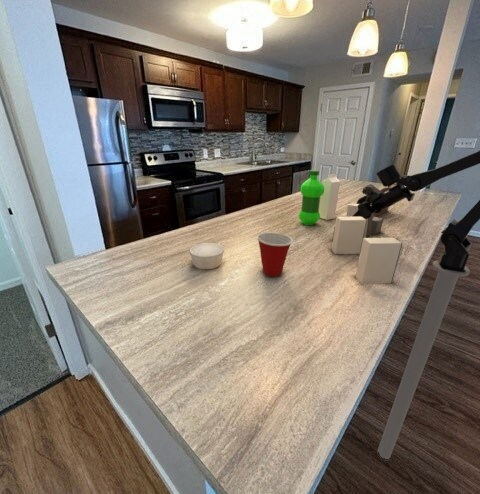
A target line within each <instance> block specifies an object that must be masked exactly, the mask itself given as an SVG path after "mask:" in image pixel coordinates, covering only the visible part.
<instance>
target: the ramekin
mask: <svg viewBox="0 0 480 494" xmlns="http://www.w3.org/2000/svg"><path fill="white" fill-rule="evenodd" d="M224 253H225V250H224V246H223V245H221V244H219V243H215V242H204V243H199V244H198V243H197V244H196V245H193V246H192V247H190V248H189V255H190V258H191V261H192V264H193V266H194V267H195V268H197V269H199V270H200V269H201V270H212V269H215V268H217V267H219V266H220V265H221V264H222V263H223V256H224Z"/></svg>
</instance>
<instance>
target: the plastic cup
mask: <svg viewBox="0 0 480 494" xmlns="http://www.w3.org/2000/svg"><path fill="white" fill-rule="evenodd" d="M256 238H257V240H258V245H259V252H260V260H261V266H262V271H263V274H264V275H266V276H268V277H279V276H281V274H282V272H283V270H284V265H285V262H286V259H287V255H288V252H289V249H290V247H291V245H292V244H293V243H294V240H293V238H292V237H291V236H289V235H286V234H284V233H279V232H269V231H268V232H262V233H259V234H257V235H256Z"/></svg>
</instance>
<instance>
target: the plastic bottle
mask: <svg viewBox="0 0 480 494" xmlns="http://www.w3.org/2000/svg"><path fill="white" fill-rule="evenodd" d="M308 175H309V178H308V179H307V180H305V181H304V182H303V183H301V186H300V193H301V195H302V199H301V209H300V211H299V212H298V218H299V221H300V222H301V223H302V224H303V225H305V226H314V225H315V224H316V223H318V222H319V221H320V219H321V218H320V214H319V204H320V196H321V195H323V193H324V185H323V184H322V181H320V179H318V176H319V175H320V170H317V169H310V170H309V171H308Z"/></svg>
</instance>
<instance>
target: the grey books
mask: <svg viewBox="0 0 480 494" xmlns="http://www.w3.org/2000/svg"><path fill="white" fill-rule="evenodd" d="M383 223H384V218H382V217H379V216H376V217H374V216H373V221H372V229H371V235H377V234H379V233H381V231H382V228H383ZM334 231H335V226H334V228H333V235H332V238H333V237H334ZM332 242H333V239H332Z"/></svg>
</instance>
